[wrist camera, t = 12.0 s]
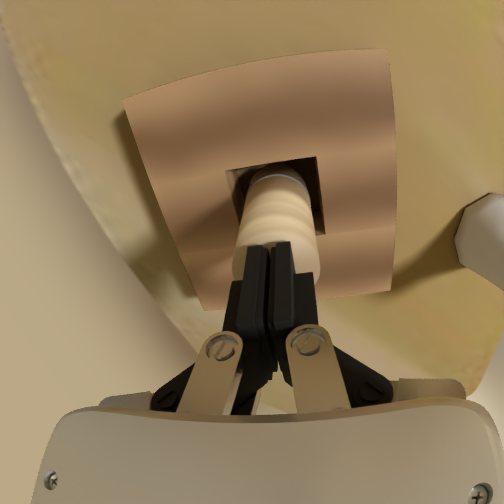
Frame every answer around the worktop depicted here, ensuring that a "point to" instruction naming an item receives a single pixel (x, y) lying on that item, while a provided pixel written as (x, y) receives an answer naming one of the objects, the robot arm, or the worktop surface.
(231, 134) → the board
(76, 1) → the worktop surface
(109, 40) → the worktop surface
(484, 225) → the flask
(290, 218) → the peg
